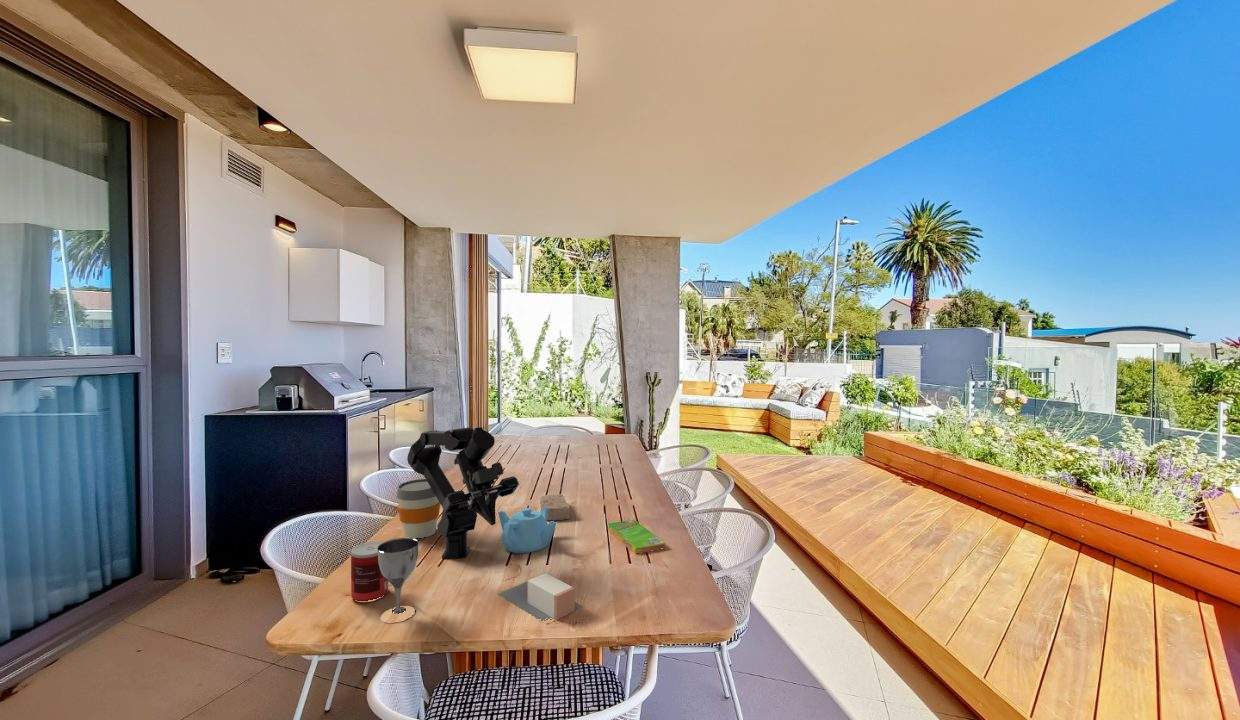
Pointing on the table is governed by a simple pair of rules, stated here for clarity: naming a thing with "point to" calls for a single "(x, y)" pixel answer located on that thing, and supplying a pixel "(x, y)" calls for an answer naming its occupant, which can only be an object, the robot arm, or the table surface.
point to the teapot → (526, 530)
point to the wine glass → (397, 563)
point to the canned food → (366, 573)
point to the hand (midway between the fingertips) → (493, 524)
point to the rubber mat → (526, 601)
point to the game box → (635, 536)
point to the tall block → (551, 596)
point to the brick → (555, 506)
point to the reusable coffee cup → (417, 508)
